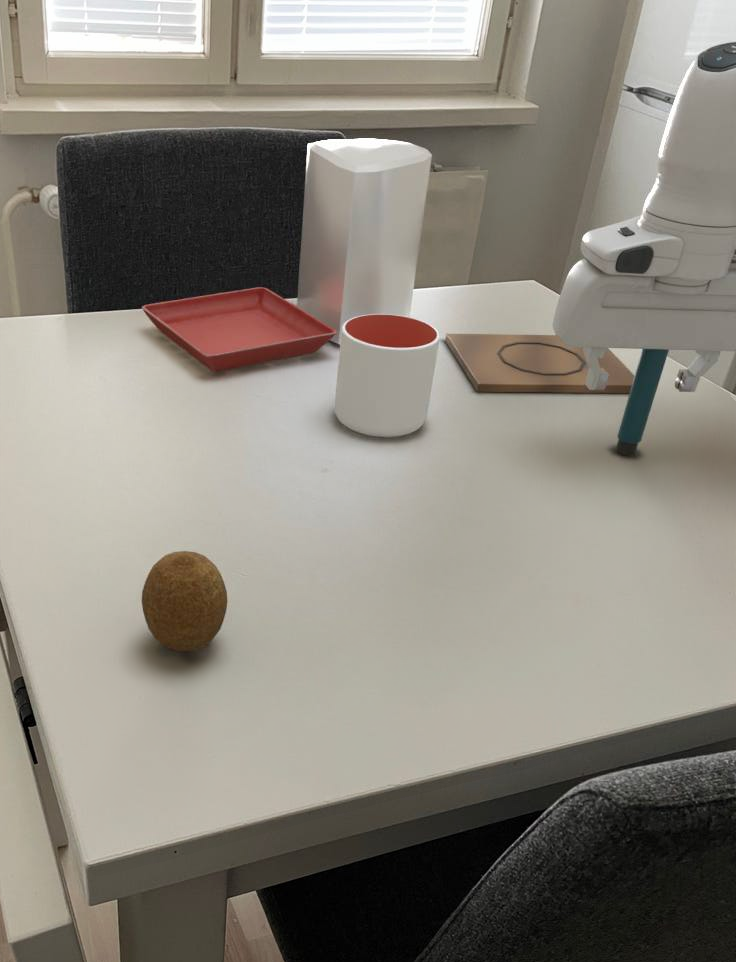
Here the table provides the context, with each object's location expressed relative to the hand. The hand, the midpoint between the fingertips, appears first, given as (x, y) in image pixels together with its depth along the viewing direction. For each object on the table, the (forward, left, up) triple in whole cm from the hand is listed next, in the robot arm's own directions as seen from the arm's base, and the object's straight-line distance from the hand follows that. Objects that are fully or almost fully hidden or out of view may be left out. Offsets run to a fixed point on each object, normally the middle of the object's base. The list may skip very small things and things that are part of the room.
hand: (639, 388), depth 100 cm
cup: (+25, -7, -7) cm, 27 cm away
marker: (0, 0, -7) cm, 7 cm away
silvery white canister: (+22, -37, -7) cm, 43 cm away
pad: (+2, -23, -7) cm, 24 cm away
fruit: (+47, +32, -7) cm, 57 cm away
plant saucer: (+39, -29, -7) cm, 49 cm away
